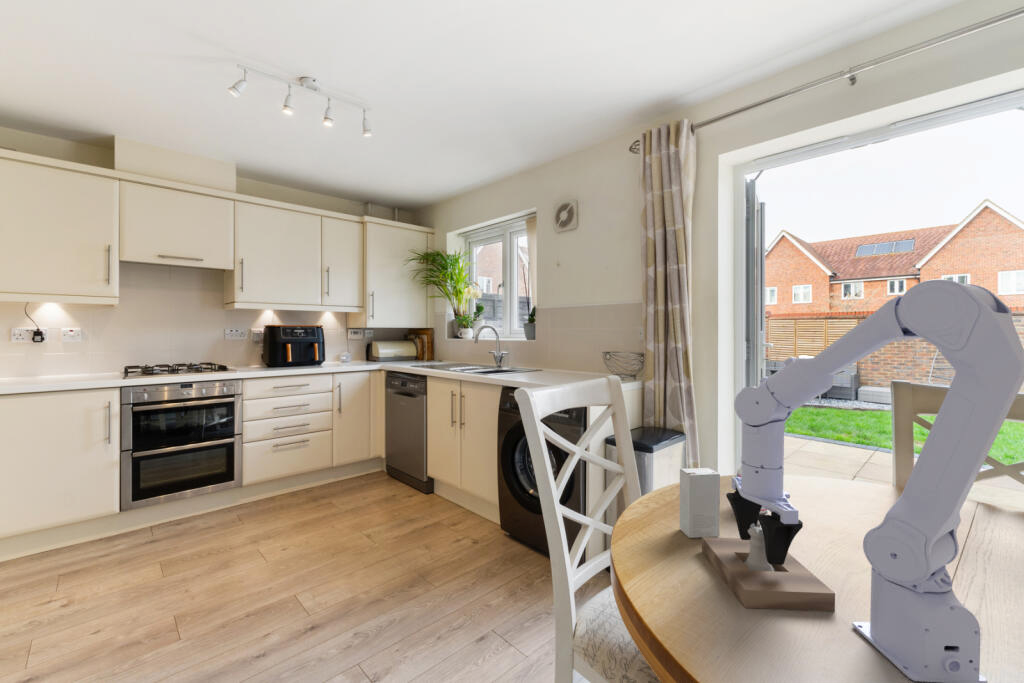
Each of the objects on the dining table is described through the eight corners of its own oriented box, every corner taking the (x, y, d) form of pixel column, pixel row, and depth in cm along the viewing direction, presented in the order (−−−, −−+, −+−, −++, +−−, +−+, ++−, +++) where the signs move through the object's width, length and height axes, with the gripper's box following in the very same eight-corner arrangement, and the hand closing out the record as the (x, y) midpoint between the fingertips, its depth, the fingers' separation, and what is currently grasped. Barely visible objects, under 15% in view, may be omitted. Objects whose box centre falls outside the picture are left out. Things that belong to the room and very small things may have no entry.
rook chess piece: (774, 589, 66) (775, 535, 66) (740, 579, 68) (741, 528, 68) (776, 575, 70) (777, 525, 69) (744, 567, 72) (745, 518, 72)
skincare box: (707, 528, 87) (708, 466, 86) (720, 538, 82) (721, 473, 82) (677, 529, 86) (678, 467, 86) (689, 539, 82) (690, 474, 81)
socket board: (834, 611, 61) (835, 593, 60) (744, 607, 61) (745, 589, 61) (772, 553, 76) (772, 539, 76) (701, 551, 77) (702, 537, 77)
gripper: (820, 479, 61) (819, 576, 62) (761, 451, 76) (759, 530, 76) (770, 478, 61) (768, 575, 61) (720, 451, 76) (719, 529, 76)
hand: (760, 550), depth 69 cm, fingers open, 7 cm apart
